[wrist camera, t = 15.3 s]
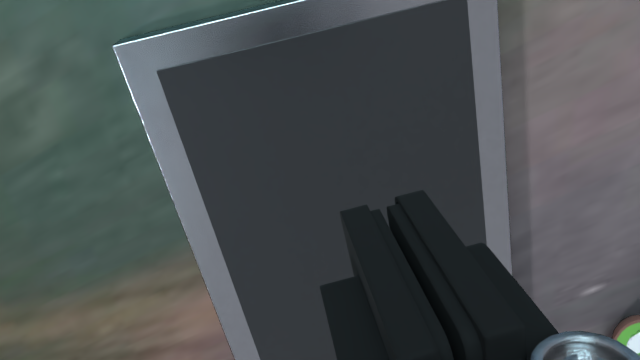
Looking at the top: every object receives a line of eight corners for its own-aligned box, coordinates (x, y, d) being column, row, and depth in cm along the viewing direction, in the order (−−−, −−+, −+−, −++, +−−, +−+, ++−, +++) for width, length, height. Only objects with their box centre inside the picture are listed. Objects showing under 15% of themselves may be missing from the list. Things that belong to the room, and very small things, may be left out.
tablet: (268, 430, 29) (269, 451, 28) (118, 39, 19) (110, 46, 18) (508, 366, 29) (519, 384, 28) (481, -49, 20) (496, -48, 18)
